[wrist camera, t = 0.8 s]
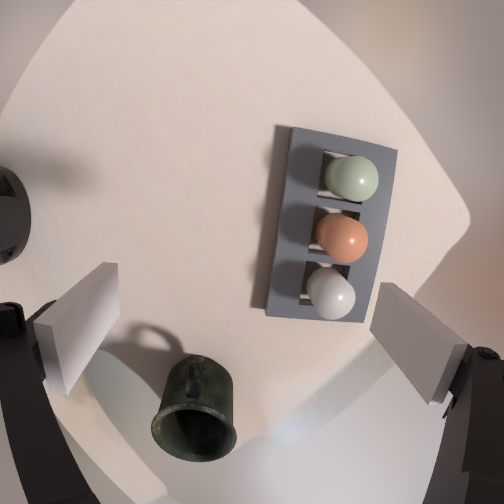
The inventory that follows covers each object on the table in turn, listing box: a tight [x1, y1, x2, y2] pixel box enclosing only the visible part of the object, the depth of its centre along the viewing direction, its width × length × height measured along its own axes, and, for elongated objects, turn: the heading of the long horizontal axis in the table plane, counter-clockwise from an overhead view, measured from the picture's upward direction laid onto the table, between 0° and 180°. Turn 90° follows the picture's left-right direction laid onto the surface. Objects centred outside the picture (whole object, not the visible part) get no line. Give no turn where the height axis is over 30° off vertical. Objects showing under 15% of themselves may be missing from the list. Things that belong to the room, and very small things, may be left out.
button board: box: [265, 127, 398, 323], centre depth 41 cm, size 14×24×2 cm, turn 172°
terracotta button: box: [316, 213, 368, 263], centre depth 37 cm, size 5×5×5 cm
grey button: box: [306, 267, 355, 320], centre depth 39 cm, size 5×5×5 cm
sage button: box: [324, 156, 379, 201], centre depth 35 cm, size 5×5×5 cm
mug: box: [151, 355, 237, 462], centre depth 40 cm, size 11×15×12 cm
